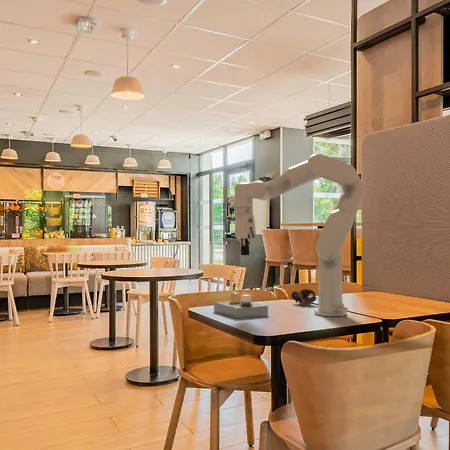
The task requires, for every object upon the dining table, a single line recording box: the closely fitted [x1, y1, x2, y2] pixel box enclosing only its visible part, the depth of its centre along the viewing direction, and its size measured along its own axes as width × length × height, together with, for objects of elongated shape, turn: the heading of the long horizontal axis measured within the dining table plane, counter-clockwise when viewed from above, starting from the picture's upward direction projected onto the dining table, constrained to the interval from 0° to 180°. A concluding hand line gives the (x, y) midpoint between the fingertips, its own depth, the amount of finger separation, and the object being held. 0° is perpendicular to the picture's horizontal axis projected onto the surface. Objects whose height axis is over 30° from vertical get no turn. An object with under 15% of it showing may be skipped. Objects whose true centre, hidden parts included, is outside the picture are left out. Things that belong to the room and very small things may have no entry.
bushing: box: [230, 292, 241, 304], centre depth 196 cm, size 4×4×8 cm
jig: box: [213, 294, 269, 320], centre depth 192 cm, size 20×14×8 cm
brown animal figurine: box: [290, 288, 318, 306], centre depth 217 cm, size 12×10×8 cm
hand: (245, 255), depth 200 cm, fingers closed
